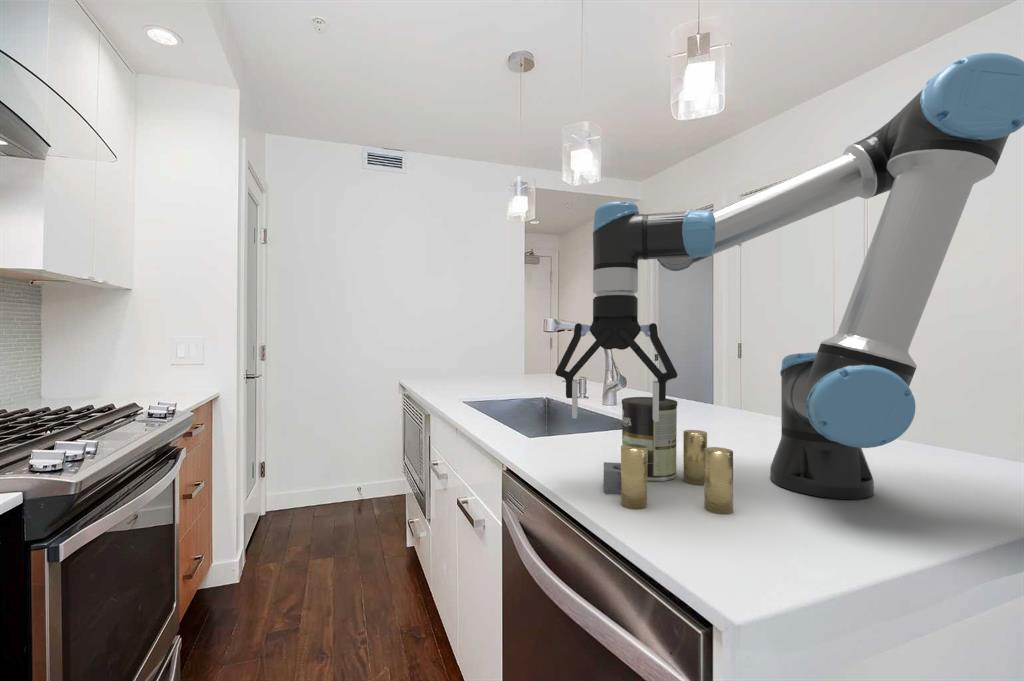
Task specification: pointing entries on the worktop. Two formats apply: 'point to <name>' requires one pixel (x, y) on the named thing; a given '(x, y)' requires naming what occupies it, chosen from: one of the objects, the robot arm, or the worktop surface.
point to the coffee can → (652, 434)
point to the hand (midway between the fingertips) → (614, 418)
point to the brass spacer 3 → (718, 480)
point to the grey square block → (612, 478)
